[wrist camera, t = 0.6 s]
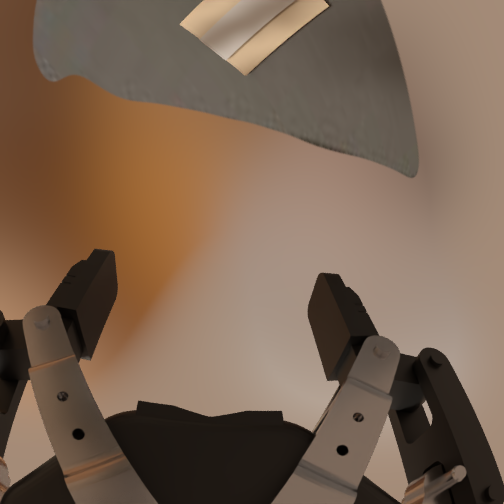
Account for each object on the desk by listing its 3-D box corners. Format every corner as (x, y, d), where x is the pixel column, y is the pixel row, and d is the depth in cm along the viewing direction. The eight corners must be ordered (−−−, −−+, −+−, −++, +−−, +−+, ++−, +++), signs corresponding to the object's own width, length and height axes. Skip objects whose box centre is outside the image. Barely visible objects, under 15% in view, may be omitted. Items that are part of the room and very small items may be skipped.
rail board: (181, 24, 23) (175, 24, 21) (264, -49, 18) (269, -57, 15) (245, 74, 28) (246, 80, 25) (326, 6, 22) (336, 5, 20)
